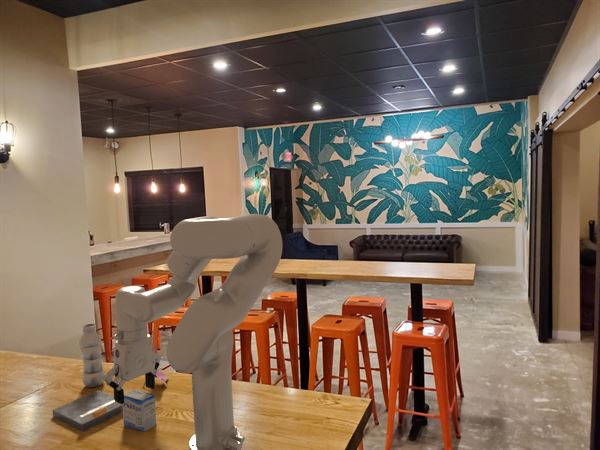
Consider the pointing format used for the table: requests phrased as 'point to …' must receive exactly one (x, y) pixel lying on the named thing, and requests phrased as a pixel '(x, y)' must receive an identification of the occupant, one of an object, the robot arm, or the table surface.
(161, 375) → the lily
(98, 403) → the white-edged grey panel
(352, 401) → the table surface
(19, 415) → the table surface
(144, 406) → the medicine box
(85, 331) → the plastic bottle
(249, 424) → the table surface
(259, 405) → the table surface
